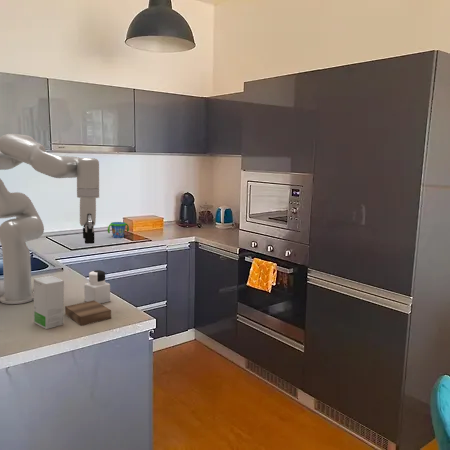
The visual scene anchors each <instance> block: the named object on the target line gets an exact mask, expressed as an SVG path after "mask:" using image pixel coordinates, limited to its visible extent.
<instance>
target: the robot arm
mask: <svg viewBox="0 0 450 450" xmlns="http://www.w3.org/2000/svg"><path fill="white" fill-rule="evenodd" d="M23 163H24V164H26V165H29V166H31V167H32V168H33V169H34V170H35V171H36V172H38V173H40V174H43V175H46V176H48V177H50V178H54V179H66V178H67V179H68V178H69V179H72V178H73V179H74V178H76V197H77V198H79V224H80V226H81V227H82V238H83V239H84V244H85V245H87V244H88V245H89V244H91V245H93V244H95V228H94V226H96V220H97V219H96V217H97V216H96V215H97V199H99V198H100V161H99V160H98V159H97V158H94V157H92V158H91V157H77V156H68V155H67V156H66V155H65V156H62V155H54V154H52V153H49V152H46V148H45V146H44V145H43V144H41V143H39V142H37V141H36V140H35V138H34V137H32V136H30V135H28V134H18V133H6V134H3V135H1V136H0V171H3V170H4V171H5V170H11V169H13V168H15V167H16V168H17V166H19V165H21V164H23ZM35 207H36V206H34V203H33V202H32V200H31V198H30V197H28V195H26V194H25V193H23V192H18V191H17V192H10V191H9V190H8V188H7V187H6V185H5V183H4V181H3V180H2V179H1V178H0V219H7V220H5V221H3V222H2V223H1V224H0V245H1V253H2V266H3V267H2V268H3V270H2V271H3V272H2V273H3V289H4V291H3V292H4V294H2V296H0V303H2V304H6V305H19V304H25V303H30V302H32V301H34V291H33V292H32V265H31V264H32V263H31V253H30V252H31V251H30V249H29V247H28V246H27V244H26V242H27V243H28V242H30V241H34V240H38V239H40V238H41V237H42V236H43V235H44V232H45V231H44V230H45V228H44V227H45V226H44V223H43V220H42V219H41V217H40V215H39V212H38V210H37V209H36V208H35ZM11 218H12V219H11Z"/></svg>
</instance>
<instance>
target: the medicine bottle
mask: <svg viewBox="0 0 450 450" xmlns="http://www.w3.org/2000/svg"><path fill="white" fill-rule="evenodd" d="M83 289H84V301H85V302H89V301H93V300H94V301H96V302H98V303H100V304H101V305H102V304H105V303H108V302H111V284H110V283H109V282H106V272H105V271H104V270H100V269H99V270H98V269H97V270H95V269H94V270H92V271H90V272H88V282H86V283H84V284H83Z"/></svg>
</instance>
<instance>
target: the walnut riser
mask: <svg viewBox="0 0 450 450" xmlns="http://www.w3.org/2000/svg"><path fill="white" fill-rule="evenodd" d="M64 310H65V312H64V316H67V317H68V318H70V319H71V320H72V321H74V322H75V323H76V324H78V325H80V326H85V325H88V324H89V323H90V324H94V323H97V321H98V322H101V321H106V320H109V319H112V310H111V309H110V308H109V307H106V306H104V305H103V304H102V303H101V304H100V303H98V302H96V301H94V300H93V301H89V302H86V301H85V302H80V303H75V304H70V305H66V306H64ZM105 319H106V320H105ZM93 322H94V323H93Z"/></svg>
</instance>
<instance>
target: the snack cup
mask: <svg viewBox="0 0 450 450" xmlns="http://www.w3.org/2000/svg"><path fill="white" fill-rule="evenodd" d="M129 227H130V226H129V224H128V223H127V222H123V221H114V222H113V221H111V222H110V224H109V225H108V226H107V234H110V233H112V237H113V238H114V239H120V238H124V237H125V231H126V232H130V228H129ZM110 229H111V230H110Z"/></svg>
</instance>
